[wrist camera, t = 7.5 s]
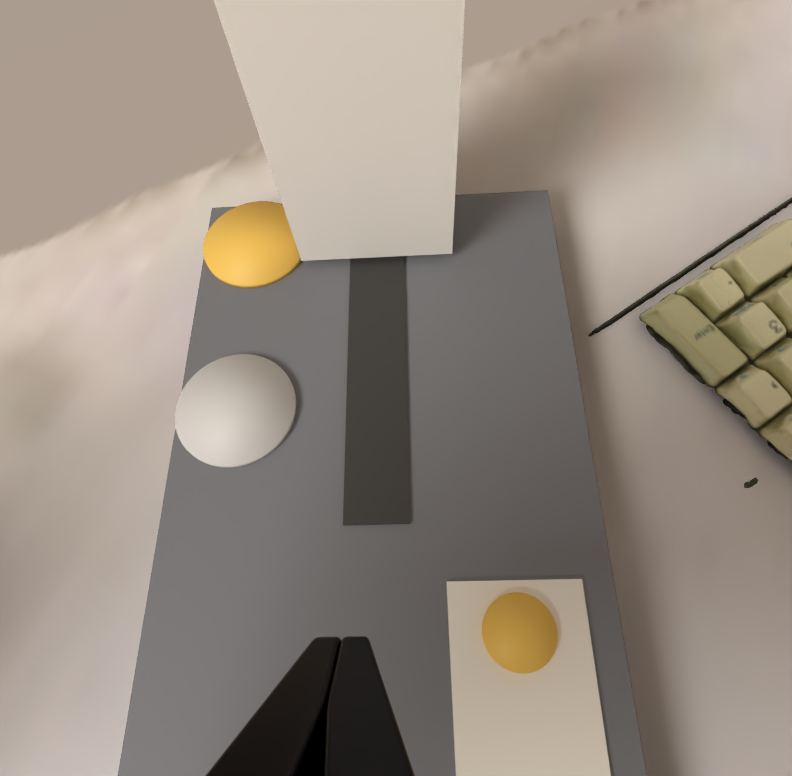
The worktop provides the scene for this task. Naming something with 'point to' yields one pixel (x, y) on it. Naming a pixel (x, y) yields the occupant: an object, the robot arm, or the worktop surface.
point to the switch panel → (387, 503)
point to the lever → (355, 118)
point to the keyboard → (736, 329)
